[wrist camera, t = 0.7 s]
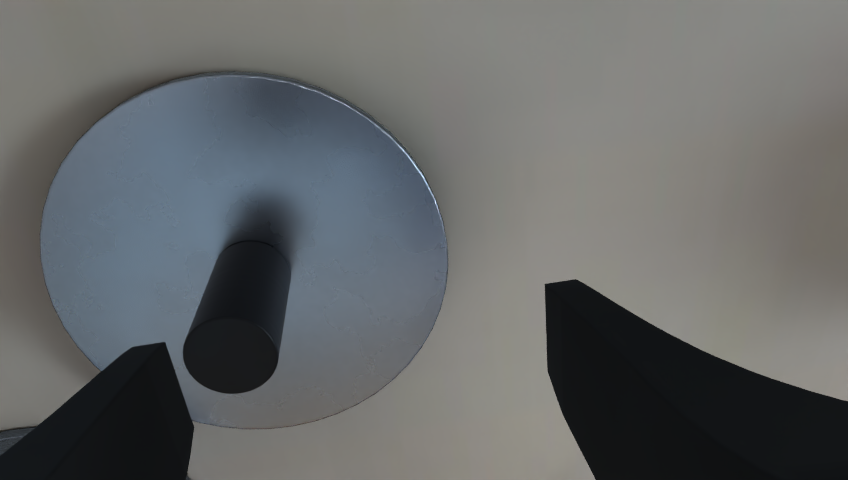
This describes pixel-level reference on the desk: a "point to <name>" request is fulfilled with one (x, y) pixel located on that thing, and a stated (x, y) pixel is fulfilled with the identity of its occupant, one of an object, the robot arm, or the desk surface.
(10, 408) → the desk surface
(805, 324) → the desk surface
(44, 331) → the desk surface
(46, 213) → the lid
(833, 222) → the desk surface
